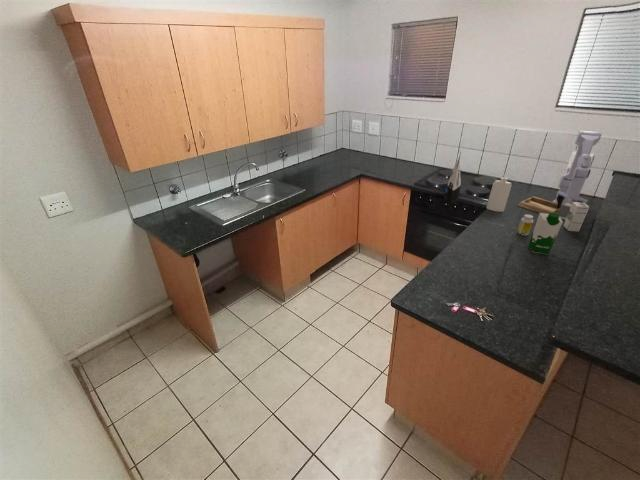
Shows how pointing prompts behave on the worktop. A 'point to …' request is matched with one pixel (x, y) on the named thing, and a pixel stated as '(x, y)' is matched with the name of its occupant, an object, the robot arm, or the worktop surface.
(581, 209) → the syrup box
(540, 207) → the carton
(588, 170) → the robot arm
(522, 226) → the supplement bottle
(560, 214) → the box
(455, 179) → the model sailboat
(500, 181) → the squeeze bottle
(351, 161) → the worktop surface
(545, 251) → the milk carton
